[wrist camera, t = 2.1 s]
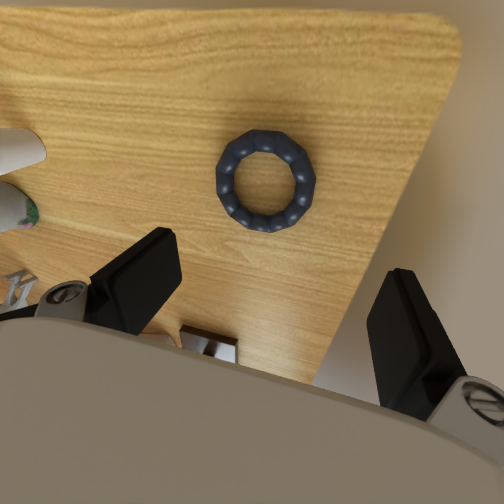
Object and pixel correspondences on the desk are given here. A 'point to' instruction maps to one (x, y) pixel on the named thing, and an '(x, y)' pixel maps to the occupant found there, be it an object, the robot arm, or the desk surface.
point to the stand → (209, 343)
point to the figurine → (11, 299)
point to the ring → (287, 152)
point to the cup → (19, 149)
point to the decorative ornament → (15, 209)
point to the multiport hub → (159, 338)
